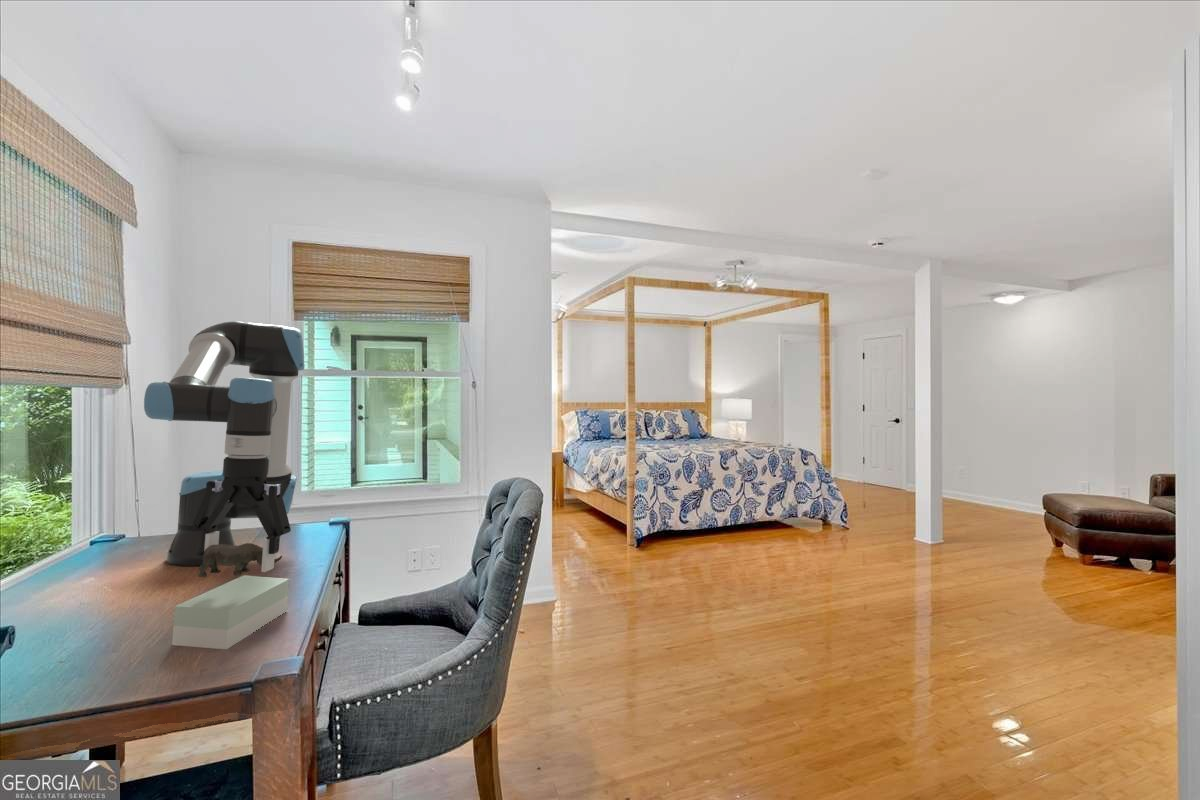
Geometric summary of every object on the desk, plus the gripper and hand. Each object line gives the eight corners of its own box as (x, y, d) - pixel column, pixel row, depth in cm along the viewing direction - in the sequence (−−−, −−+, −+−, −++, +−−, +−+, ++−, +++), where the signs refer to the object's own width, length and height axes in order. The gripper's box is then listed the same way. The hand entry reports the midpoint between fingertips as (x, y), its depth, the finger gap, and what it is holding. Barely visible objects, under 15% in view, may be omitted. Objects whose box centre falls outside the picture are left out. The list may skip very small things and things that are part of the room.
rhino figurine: (278, 575, 107) (281, 544, 107) (195, 579, 102) (197, 547, 102) (282, 568, 111) (284, 539, 111) (202, 572, 106) (204, 541, 106)
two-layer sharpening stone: (241, 608, 115) (243, 575, 115) (287, 611, 115) (289, 578, 115) (172, 645, 97) (175, 606, 97) (226, 649, 97) (229, 610, 97)
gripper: (174, 453, 103) (165, 569, 103) (293, 461, 103) (285, 578, 102) (203, 450, 111) (195, 558, 110) (315, 458, 110) (307, 566, 110)
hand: (238, 567), depth 106 cm, fingers closed on rhino figurine, 11 cm apart
